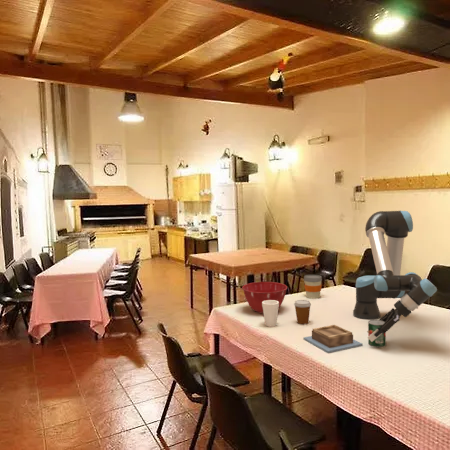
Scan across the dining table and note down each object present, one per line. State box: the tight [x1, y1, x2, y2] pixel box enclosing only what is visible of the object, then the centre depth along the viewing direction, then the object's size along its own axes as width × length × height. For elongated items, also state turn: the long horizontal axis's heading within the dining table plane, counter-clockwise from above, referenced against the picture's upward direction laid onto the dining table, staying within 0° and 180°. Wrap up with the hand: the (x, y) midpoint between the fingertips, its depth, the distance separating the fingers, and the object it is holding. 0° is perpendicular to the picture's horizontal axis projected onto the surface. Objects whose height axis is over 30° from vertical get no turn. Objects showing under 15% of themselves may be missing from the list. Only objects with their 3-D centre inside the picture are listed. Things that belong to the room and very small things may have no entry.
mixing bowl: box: [241, 281, 288, 314], centre depth 255 cm, size 28×28×16 cm
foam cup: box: [262, 300, 280, 328], centre depth 226 cm, size 10×9×13 cm
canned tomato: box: [367, 319, 387, 348], centre depth 191 cm, size 8×8×11 cm
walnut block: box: [311, 324, 354, 348], centre depth 196 cm, size 14×14×5 cm
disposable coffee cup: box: [293, 299, 312, 325], centre depth 228 cm, size 10×10×12 cm
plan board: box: [303, 335, 364, 354], centre depth 196 cm, size 20×20×1 cm
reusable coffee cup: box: [303, 274, 323, 300], centre depth 283 cm, size 12×13×15 cm
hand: (369, 336), depth 193 cm, fingers closed on canned tomato, 8 cm apart
